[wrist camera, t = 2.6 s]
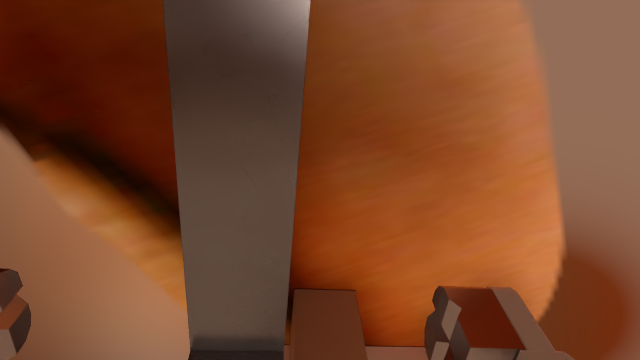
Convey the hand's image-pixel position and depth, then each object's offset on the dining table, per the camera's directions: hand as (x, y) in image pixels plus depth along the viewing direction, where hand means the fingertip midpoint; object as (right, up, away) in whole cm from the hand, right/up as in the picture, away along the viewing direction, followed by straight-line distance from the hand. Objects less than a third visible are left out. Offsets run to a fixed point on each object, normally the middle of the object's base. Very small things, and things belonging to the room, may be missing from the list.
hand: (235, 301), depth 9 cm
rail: (-1, +5, +8) cm, 9 cm away
